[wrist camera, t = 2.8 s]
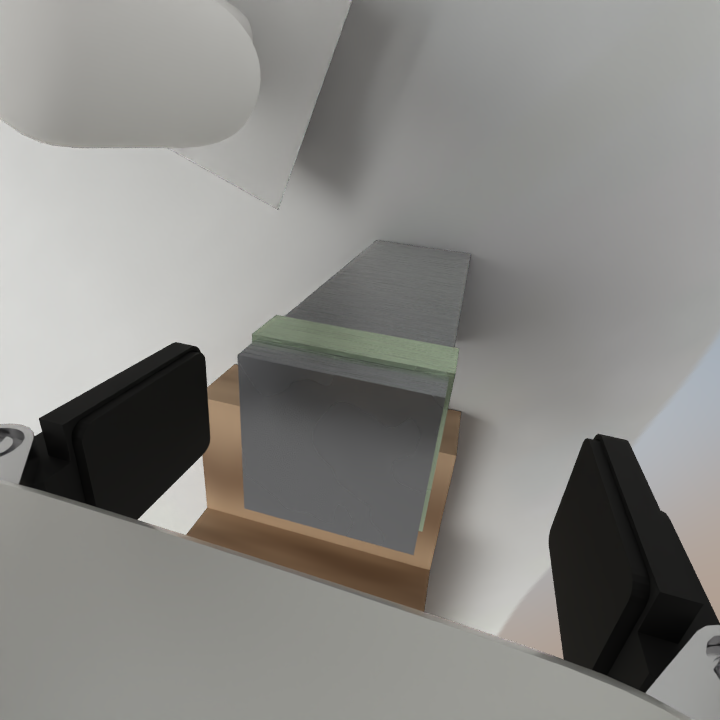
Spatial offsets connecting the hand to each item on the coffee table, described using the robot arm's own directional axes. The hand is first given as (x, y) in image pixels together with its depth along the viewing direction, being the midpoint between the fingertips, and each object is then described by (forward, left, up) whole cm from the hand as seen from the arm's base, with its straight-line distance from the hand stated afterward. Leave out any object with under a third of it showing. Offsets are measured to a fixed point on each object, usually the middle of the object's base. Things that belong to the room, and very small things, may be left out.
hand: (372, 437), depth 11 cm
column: (-1, -1, -10) cm, 10 cm away
